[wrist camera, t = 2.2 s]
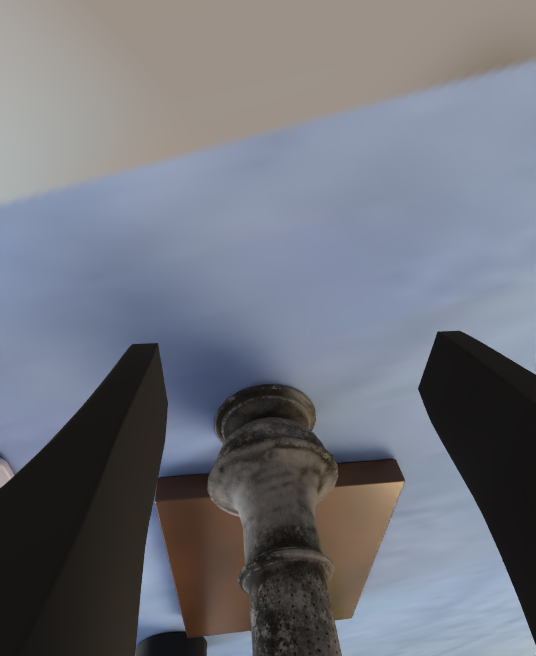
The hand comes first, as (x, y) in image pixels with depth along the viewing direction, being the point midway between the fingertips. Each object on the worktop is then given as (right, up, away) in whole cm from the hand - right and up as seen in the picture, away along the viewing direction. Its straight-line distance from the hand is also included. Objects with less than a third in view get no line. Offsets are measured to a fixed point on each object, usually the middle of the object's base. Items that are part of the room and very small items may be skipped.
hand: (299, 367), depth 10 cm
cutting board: (0, -15, +18) cm, 24 cm away
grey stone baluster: (-1, -4, +10) cm, 11 cm away
